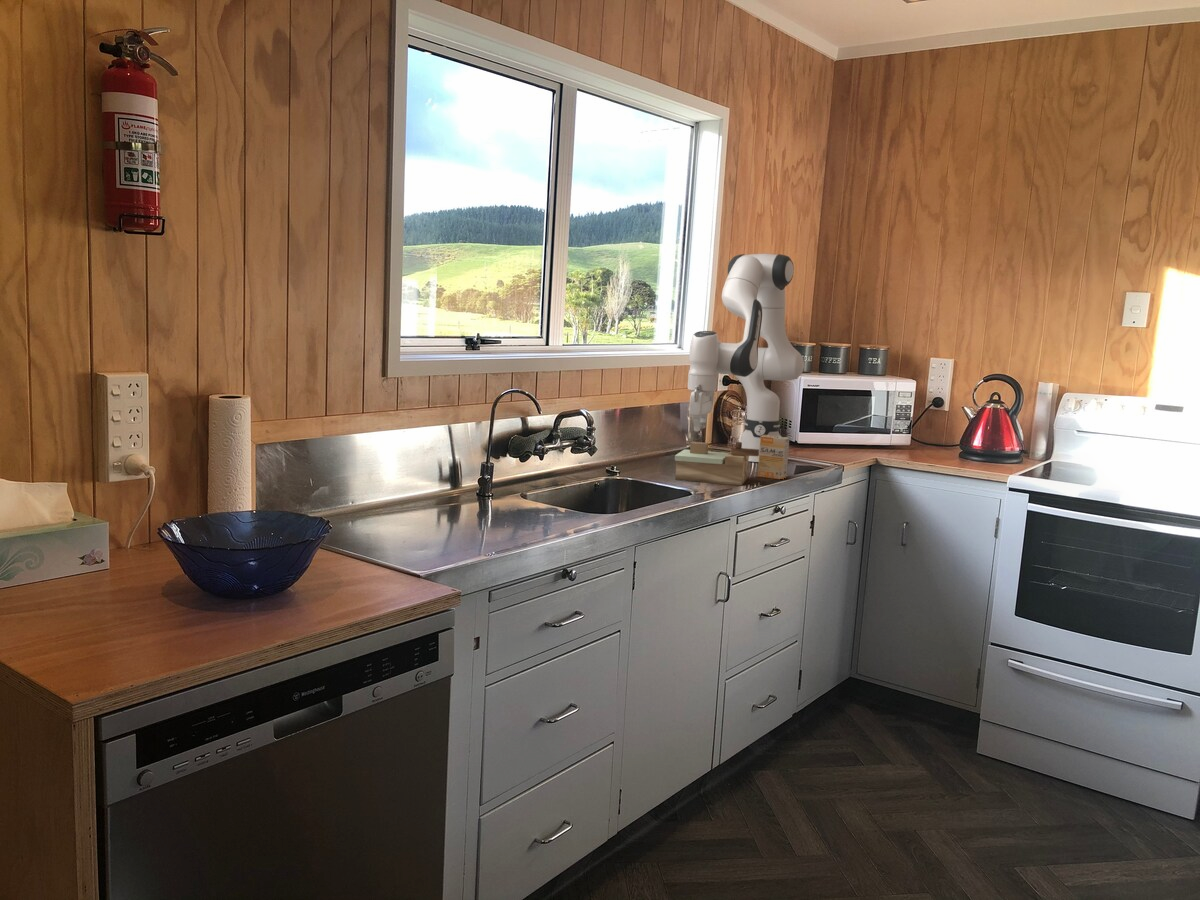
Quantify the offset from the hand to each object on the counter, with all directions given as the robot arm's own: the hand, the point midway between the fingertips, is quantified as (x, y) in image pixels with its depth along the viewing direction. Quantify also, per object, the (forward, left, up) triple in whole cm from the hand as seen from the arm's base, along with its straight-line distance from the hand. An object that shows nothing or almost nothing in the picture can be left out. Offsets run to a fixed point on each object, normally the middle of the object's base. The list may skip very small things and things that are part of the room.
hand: (699, 429), depth 295 cm
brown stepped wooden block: (+4, +15, -6) cm, 16 cm away
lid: (+1, +2, -9) cm, 9 cm away
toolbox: (+1, +5, -15) cm, 16 cm away
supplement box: (-11, +22, -15) cm, 29 cm away
